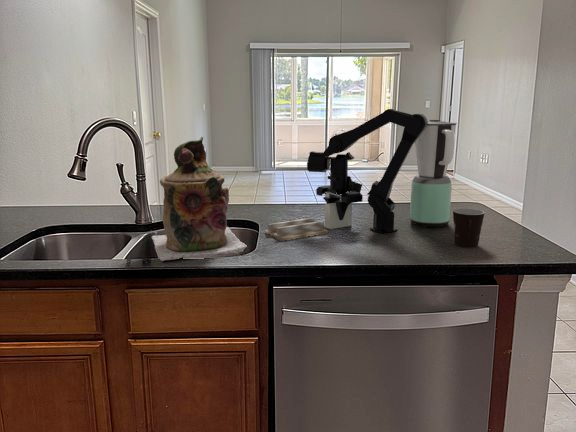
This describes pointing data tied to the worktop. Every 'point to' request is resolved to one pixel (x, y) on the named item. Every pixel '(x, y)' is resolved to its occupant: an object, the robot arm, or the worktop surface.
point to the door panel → (333, 218)
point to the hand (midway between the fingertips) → (338, 219)
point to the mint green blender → (433, 175)
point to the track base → (296, 229)
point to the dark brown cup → (467, 227)
